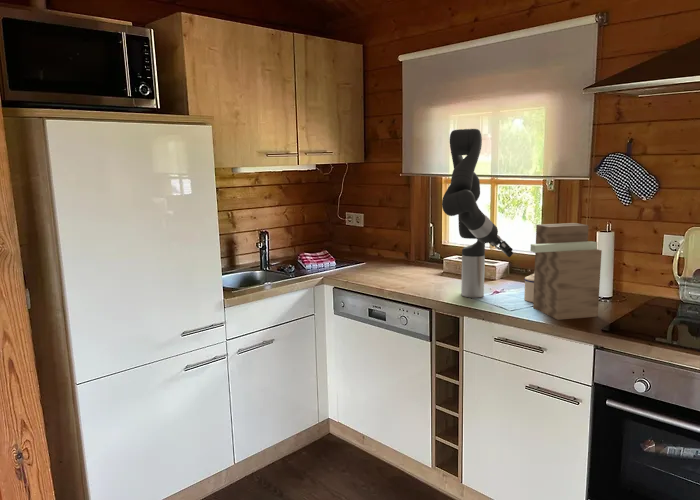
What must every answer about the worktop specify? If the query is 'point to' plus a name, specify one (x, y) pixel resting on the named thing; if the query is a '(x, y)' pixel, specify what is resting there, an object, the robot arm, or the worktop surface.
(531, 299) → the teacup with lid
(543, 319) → the worktop surface
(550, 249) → the sage slat
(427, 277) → the worktop surface
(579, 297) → the brown wooden tall block
